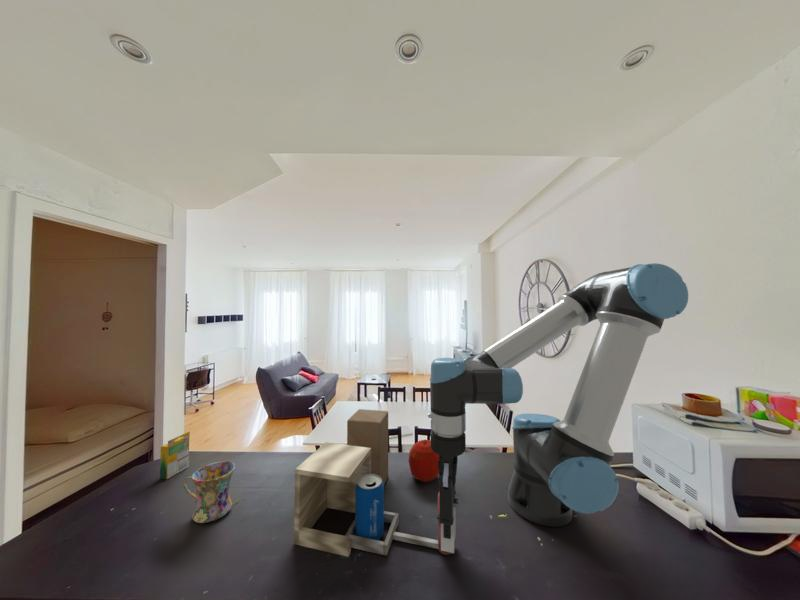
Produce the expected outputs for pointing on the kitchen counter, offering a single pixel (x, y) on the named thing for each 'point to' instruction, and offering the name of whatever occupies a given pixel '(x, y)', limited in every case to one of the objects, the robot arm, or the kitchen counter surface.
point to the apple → (423, 461)
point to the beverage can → (369, 507)
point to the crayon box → (174, 456)
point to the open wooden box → (327, 493)
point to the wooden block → (371, 437)
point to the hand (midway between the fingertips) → (448, 542)
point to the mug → (211, 491)
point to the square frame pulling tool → (393, 536)
